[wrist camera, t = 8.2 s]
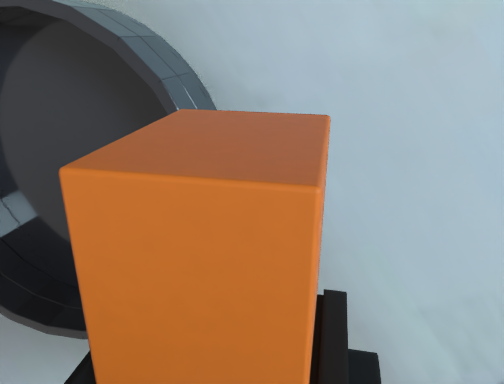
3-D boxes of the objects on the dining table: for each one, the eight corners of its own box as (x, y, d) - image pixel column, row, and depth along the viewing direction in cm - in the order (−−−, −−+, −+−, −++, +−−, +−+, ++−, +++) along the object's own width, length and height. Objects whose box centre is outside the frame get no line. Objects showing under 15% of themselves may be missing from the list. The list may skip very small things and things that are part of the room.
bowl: (228, -5, 22) (198, -16, 17) (235, 309, 29) (215, 360, 25) (-84, 2, 26) (-175, -5, 21) (-8, 278, 33) (-64, 317, 29)
